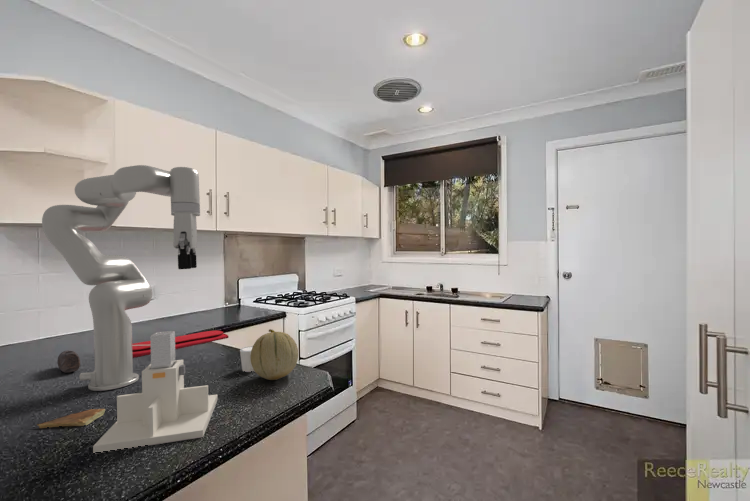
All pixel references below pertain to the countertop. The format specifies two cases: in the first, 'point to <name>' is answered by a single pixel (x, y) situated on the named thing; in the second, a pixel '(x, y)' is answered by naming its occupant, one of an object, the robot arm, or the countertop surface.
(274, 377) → the cantaloupe
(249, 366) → the shot glass
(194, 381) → the countertop surface
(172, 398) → the cream stand
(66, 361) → the perforated stone tool
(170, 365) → the steel post
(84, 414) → the shard
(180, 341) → the dish drying mat
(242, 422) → the countertop surface
